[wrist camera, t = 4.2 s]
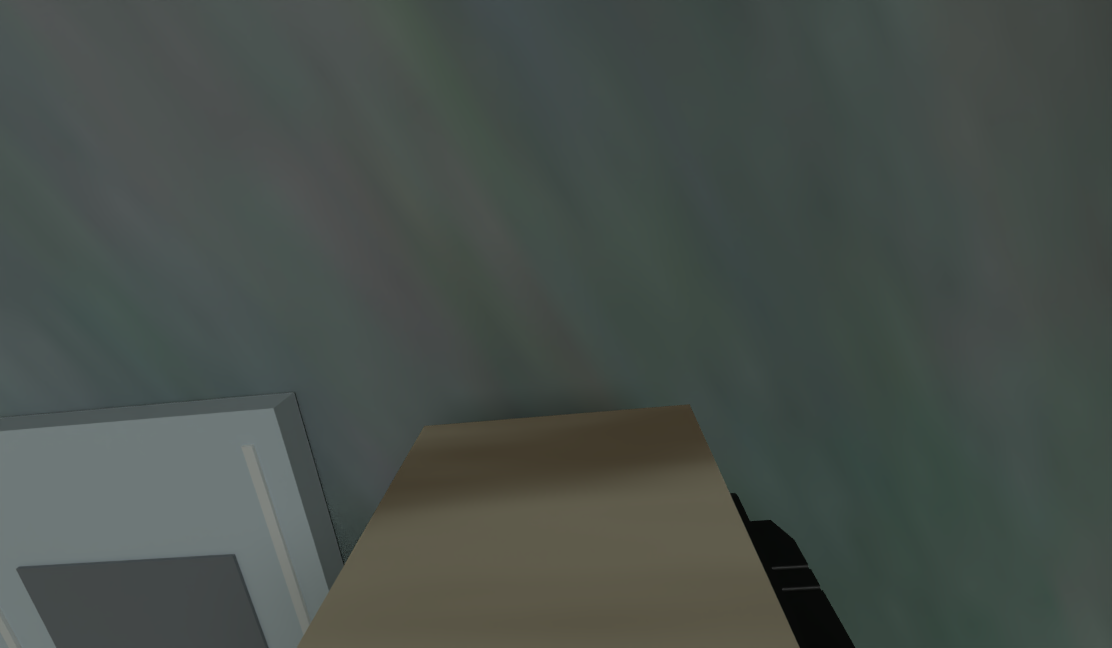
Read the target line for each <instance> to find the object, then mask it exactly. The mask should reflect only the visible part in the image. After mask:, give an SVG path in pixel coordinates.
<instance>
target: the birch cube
mask: <svg viewBox="0 0 1112 648" xmlns="http://www.w3.org/2000/svg"><path fill="white" fill-rule="evenodd" d="M297 648H800V647H799V645H798V643H797V641H796V639H795V636H794V634H793V632H792V630H791V628H790V625H789V623H788V621H787V619H786V616H785V614H784V612H783V610H782V608H781V605H780V603H779V601H778V599H777V597H776V594H775V592H774V590H773V588H772V586H771V583H770V581H769V579H768V577H767V575H766V572H765V570H764V568H763V566H762V563H761V561H760V559H759V557H758V555H757V552H756V550H755V548H754V546H753V544H752V541H751V539H750V537H749V535H748V533H747V530H746V528H745V526H744V524H743V522H742V519H741V517H740V515H739V513H738V510H737V508H736V506H735V504H734V502H733V499H732V497H731V495H730V493H729V491H728V488H727V486H726V484H725V482H724V480H723V477H722V475H721V473H720V471H719V469H718V466H717V464H716V462H715V460H714V457H713V455H712V453H711V451H710V449H709V446H708V444H707V442H706V440H705V438H704V435H703V433H702V431H701V429H700V427H699V424H698V422H697V420H696V418H695V416H694V413H693V411H692V409H691V407H690V404H689V405H677V406H665V407H652V408H640V409H628V410H616V411H603V412H591V413H579V414H566V415H554V416H542V417H530V418H517V419H505V420H493V421H480V422H468V423H456V424H444V425H431V426H424V427H423V429H422V431H421V433H420V434H419V436H418V438H417V440H416V441H415V443H414V445H413V447H412V448H411V450H410V452H409V453H408V455H407V457H406V459H405V460H404V462H403V464H402V466H401V467H400V469H399V471H398V473H397V474H396V476H395V478H394V480H393V481H392V483H391V485H390V486H389V488H388V490H387V492H386V493H385V495H384V497H383V499H382V500H381V502H380V504H379V506H378V507H377V509H376V511H375V512H374V514H373V516H372V518H371V519H370V521H369V523H368V525H367V526H366V528H365V530H364V532H363V533H362V535H361V537H360V539H359V540H358V542H357V544H356V545H355V547H354V549H353V551H352V552H351V554H350V556H349V558H348V559H347V561H346V563H345V565H344V566H343V568H342V570H341V571H340V573H339V575H338V577H337V578H336V580H335V582H334V584H333V585H332V587H331V589H330V591H329V592H328V594H327V596H326V598H325V599H324V601H323V603H322V604H321V606H320V608H319V610H318V611H317V613H316V615H315V617H314V618H313V620H312V622H311V624H310V625H309V627H308V629H307V630H306V632H305V634H304V636H303V637H302V639H301V641H300V643H299V644H298V646H297Z"/></svg>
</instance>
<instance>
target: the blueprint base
mask: <svg viewBox="0 0 1112 648" xmlns="http://www.w3.org/2000/svg"><path fill="white" fill-rule="evenodd" d="M343 566H344V564H343V561H342V557H341V554H340V550H339V547H338V543H337V540H336V536H335V533H334V529H333V526H332V522H331V519H330V515H329V512H328V508H327V505H326V501H325V498H324V494H323V491H322V487H321V484H320V481H319V477H318V474H317V470H316V467H315V463H314V460H313V456H312V453H311V449H310V446H309V442H308V439H307V435H306V432H305V428H304V425H303V421H302V418H301V414H300V411H299V407H298V404H297V400H296V397H295V393H294V392H290V393H279V394H267V395H255V396H244V397H232V398H221V399H209V400H198V401H186V402H175V403H163V404H152V405H140V406H129V407H117V408H105V409H94V410H82V411H71V412H59V413H48V414H36V415H25V416H13V417H2V418H0V648H297V646H298V644H299V643H300V641H301V639H302V637H303V636H304V634H305V632H306V630H307V629H308V627H309V625H310V624H311V622H312V620H313V618H314V617H315V615H316V613H317V611H318V610H319V608H320V606H321V604H322V603H323V601H324V599H325V598H326V596H327V594H328V592H329V591H330V589H331V587H332V585H333V584H334V582H335V580H336V578H337V577H338V575H339V573H340V571H341V570H342V568H343Z"/></svg>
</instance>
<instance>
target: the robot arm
mask: <svg viewBox="0 0 1112 648" xmlns="http://www.w3.org/2000/svg"><path fill="white" fill-rule="evenodd" d="M730 495H731V497H732V499H733V502H734V504H735V506H736V508H737V510H738V513H739V515H740V517H741V519H742V522H743V524H744V526H745V528H746V530H747V533H748V535H749V537H750V539H751V541H752V544H753V546H754V548H755V550H756V552H757V555H758V557H759V559H760V561H761V563H762V566H763V568H764V570H765V572H766V575H767V577H768V579H769V581H770V583H771V586H772V588H773V590H774V592H775V594H776V597H777V599H778V601H779V603H780V605H781V608H782V610H783V612H784V614H785V616H786V619H787V621H788V623H789V625H790V628H791V630H792V632H793V634H794V636H795V639H796V641H797V643H798V645H799V647H800V648H855V646H854V645H853V643H852V641H851V639H850V638H849V636H848V634H847V632H846V630H845V629H844V627H843V625H842V623H841V622H840V620H839V618H838V616H837V615H836V613H835V611H834V609H833V608H832V606H831V604H830V602H829V600H828V599H827V597H826V595H825V593H824V592H823V590H822V591H821V589H820V585H819V583H818V581H817V579H816V578H815V576H814V574H813V572H812V570H811V569H809V568H808V563H807V562H806V560H805V558H804V556H803V555H802V553H801V551H800V549H799V548H798V546H797V544H796V542H795V540H794V539H793V538H791V537H790V536H789V535H788V534H787V533H786V532H784V531H783V530H782V529H781V528H780V527H778V526H777V525H776V524H775V523H774V522H772V521H771V520H763V521H750V520H749V518H748V516H747V514H746V512H745V510H744V508H743V506H742V504H741V501H740V499H739V497H738V496H737V494H736V493H730Z"/></svg>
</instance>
